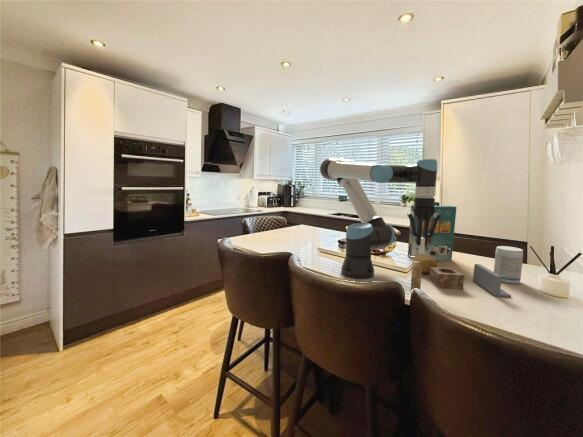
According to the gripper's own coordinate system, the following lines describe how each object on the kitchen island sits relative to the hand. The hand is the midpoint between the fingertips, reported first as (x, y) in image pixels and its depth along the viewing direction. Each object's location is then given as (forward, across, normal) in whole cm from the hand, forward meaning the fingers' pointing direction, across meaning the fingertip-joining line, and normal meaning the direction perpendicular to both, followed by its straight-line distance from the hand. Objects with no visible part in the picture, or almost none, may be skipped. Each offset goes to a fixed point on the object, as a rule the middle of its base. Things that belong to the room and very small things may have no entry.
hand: (421, 252), depth 116 cm
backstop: (+14, +27, -2) cm, 30 cm away
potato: (+14, +7, +16) cm, 22 cm away
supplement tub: (+14, +40, +10) cm, 43 cm away
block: (+13, +11, 0) cm, 17 cm away
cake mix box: (+14, +18, +42) cm, 48 cm away
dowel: (+13, -4, -10) cm, 17 cm away
